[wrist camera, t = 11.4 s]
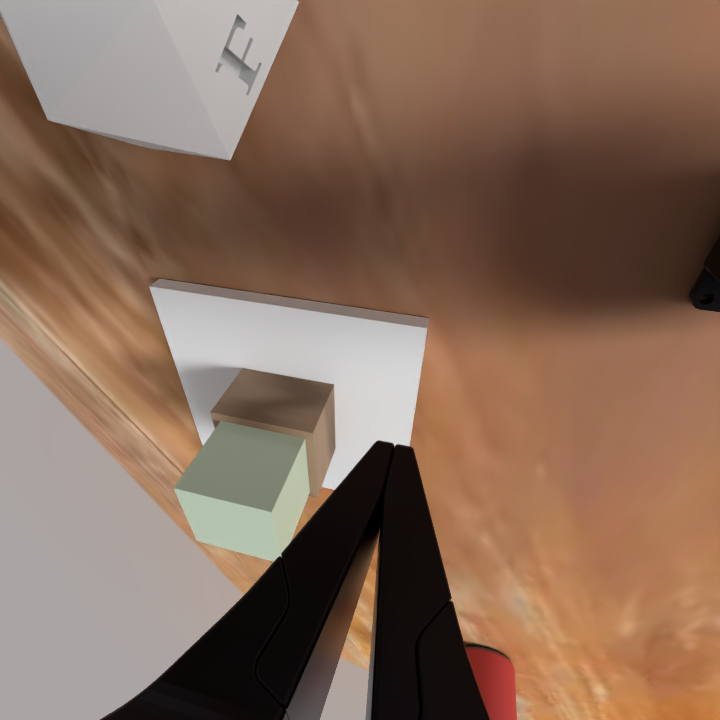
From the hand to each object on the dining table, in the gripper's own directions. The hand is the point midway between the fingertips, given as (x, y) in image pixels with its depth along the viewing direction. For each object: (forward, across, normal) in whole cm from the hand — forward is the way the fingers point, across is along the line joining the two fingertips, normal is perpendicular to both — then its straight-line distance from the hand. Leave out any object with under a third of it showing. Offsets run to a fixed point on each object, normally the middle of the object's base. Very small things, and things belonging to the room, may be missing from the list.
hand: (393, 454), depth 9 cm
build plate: (+12, +8, +12) cm, 19 cm away
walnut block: (+12, +8, +12) cm, 18 cm away
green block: (+8, +8, +12) cm, 16 cm away
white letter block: (+13, +10, -8) cm, 18 cm away
